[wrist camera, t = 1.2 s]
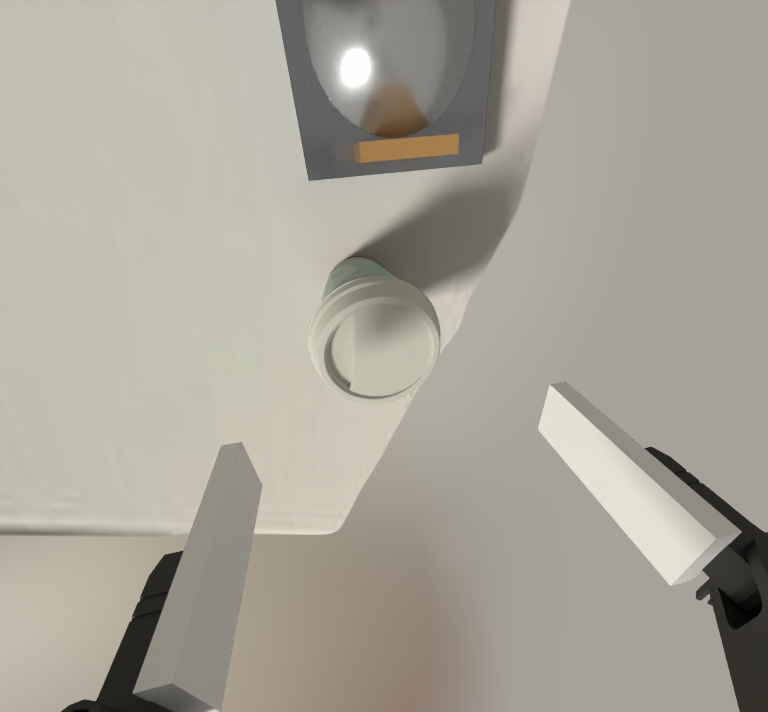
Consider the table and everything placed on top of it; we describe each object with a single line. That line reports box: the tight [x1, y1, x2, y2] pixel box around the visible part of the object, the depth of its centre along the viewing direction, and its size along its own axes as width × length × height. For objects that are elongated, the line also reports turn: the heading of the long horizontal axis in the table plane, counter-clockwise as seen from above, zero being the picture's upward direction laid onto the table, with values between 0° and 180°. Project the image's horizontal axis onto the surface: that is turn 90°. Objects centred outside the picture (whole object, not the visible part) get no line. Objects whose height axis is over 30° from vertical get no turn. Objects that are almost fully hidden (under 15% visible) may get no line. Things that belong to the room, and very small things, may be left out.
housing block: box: [276, 0, 496, 181], centre depth 17 cm, size 14×13×6 cm
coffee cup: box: [308, 257, 440, 404], centre depth 23 cm, size 8×9×12 cm
